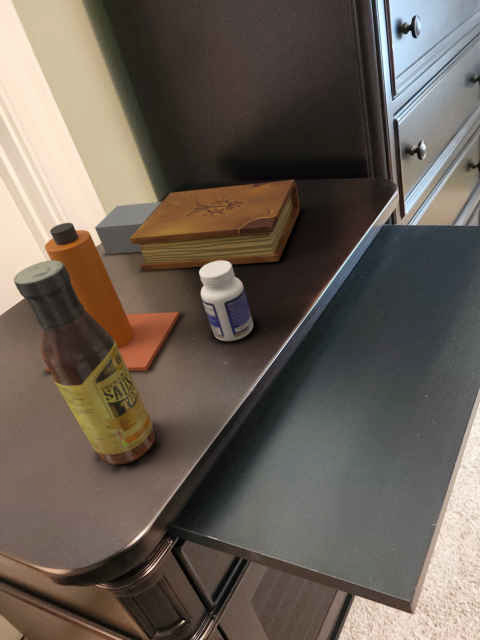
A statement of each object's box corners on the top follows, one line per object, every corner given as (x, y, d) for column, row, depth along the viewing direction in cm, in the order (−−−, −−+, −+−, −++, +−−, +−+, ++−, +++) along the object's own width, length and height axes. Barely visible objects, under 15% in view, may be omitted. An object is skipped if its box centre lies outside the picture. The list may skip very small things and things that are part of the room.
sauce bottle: (150, 465, 52) (57, 289, 39) (91, 470, 52) (-20, 300, 39) (164, 419, 56) (86, 248, 43) (110, 424, 57) (17, 259, 44)
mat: (48, 372, 67) (45, 368, 67) (90, 319, 76) (89, 315, 75) (147, 370, 64) (145, 367, 63) (179, 315, 72) (178, 311, 72)
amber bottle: (88, 351, 68) (29, 239, 58) (106, 328, 72) (53, 219, 61) (124, 350, 67) (70, 236, 57) (140, 327, 70) (92, 215, 60)
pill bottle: (255, 316, 69) (239, 254, 63) (252, 339, 65) (235, 276, 59) (216, 321, 70) (197, 261, 64) (211, 344, 66) (190, 282, 60)
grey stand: (106, 254, 92) (94, 227, 89) (127, 231, 98) (116, 205, 95) (152, 251, 90) (142, 223, 87) (170, 228, 96) (161, 201, 93)
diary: (300, 210, 93) (295, 177, 89) (278, 262, 79) (271, 226, 76) (181, 220, 98) (171, 189, 94) (142, 270, 85) (129, 237, 81)
